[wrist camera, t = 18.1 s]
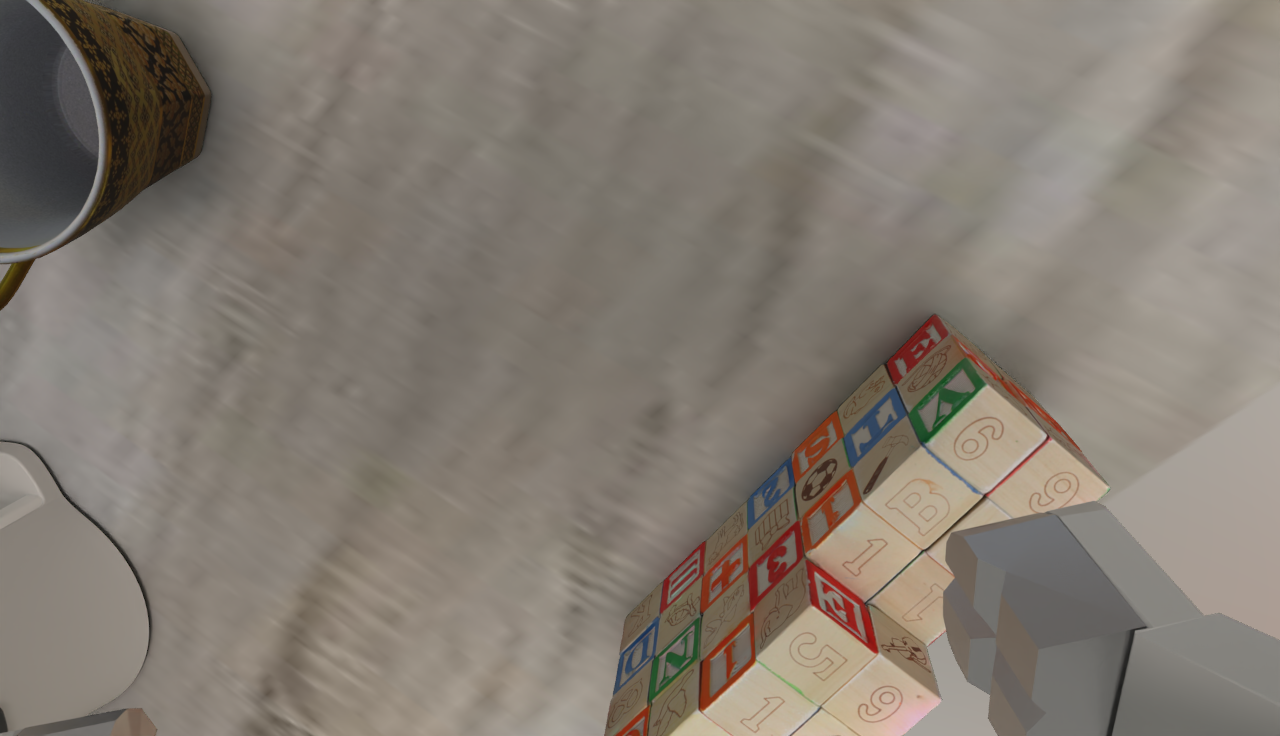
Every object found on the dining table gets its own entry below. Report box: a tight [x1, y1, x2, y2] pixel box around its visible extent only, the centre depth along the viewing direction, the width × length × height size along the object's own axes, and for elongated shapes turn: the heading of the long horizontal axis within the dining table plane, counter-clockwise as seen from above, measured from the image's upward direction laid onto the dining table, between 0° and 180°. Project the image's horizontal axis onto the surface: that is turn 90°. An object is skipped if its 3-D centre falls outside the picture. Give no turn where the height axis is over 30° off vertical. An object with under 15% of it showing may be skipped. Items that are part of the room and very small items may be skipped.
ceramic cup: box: [0, 0, 211, 311], centre depth 36 cm, size 13×10×10 cm
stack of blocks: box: [604, 314, 1110, 736], centre depth 38 cm, size 21×6×12 cm, turn 141°
